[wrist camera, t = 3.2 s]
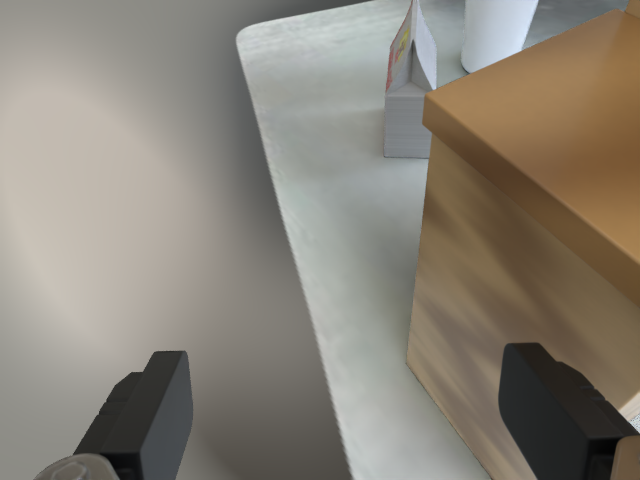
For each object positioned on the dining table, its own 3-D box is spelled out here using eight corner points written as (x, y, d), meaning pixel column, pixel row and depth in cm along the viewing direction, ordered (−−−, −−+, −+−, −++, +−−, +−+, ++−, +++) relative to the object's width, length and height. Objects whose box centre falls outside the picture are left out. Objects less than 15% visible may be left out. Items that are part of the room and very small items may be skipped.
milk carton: (430, 106, 45) (441, -5, 37) (429, 158, 40) (442, 44, 33) (388, 106, 45) (391, -4, 37) (384, 156, 41) (385, 45, 33)
